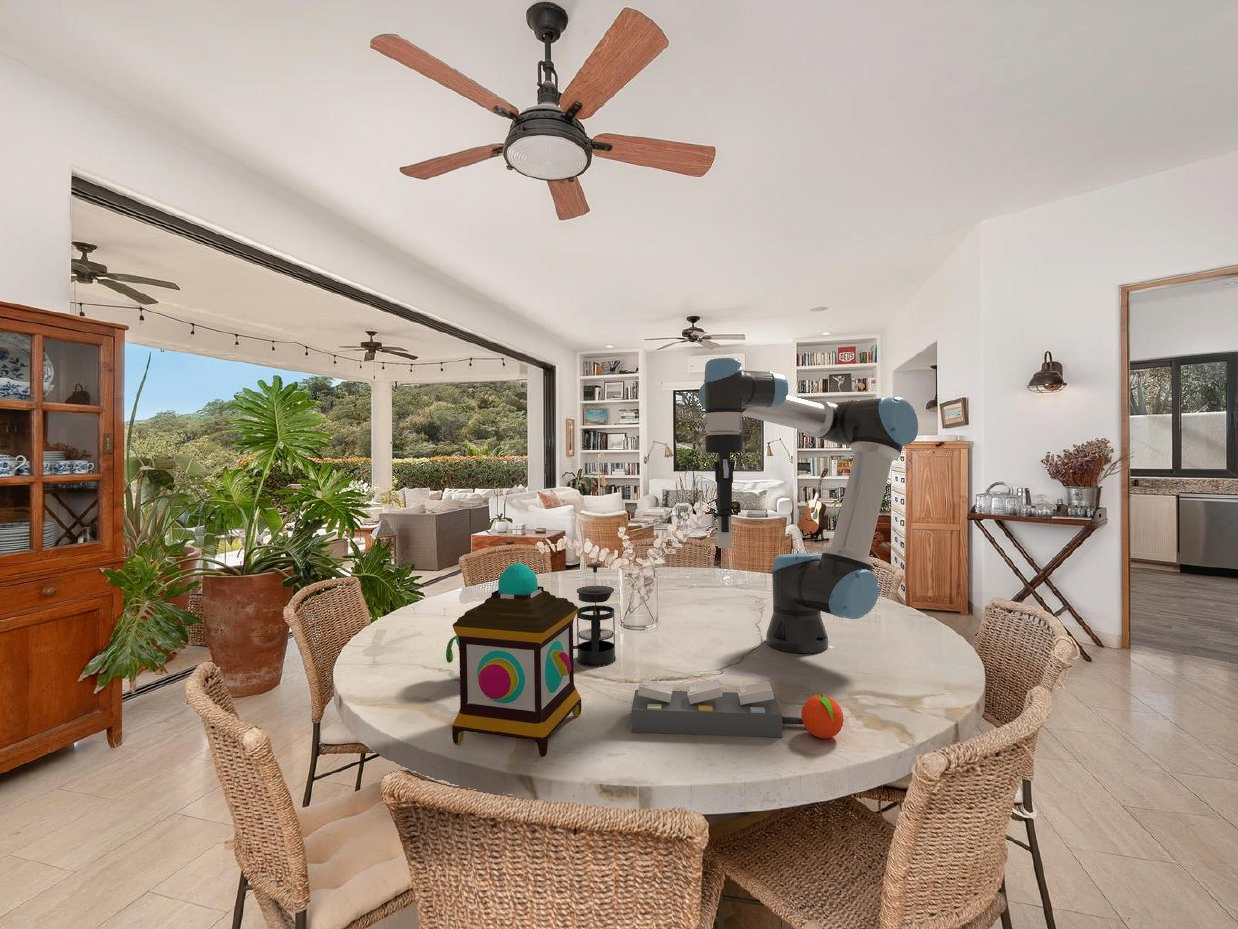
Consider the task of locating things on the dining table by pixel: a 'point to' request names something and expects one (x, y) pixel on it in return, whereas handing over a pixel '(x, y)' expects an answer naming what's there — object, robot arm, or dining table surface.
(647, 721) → the power strip
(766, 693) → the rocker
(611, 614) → the french press
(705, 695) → the plate
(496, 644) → the decorative lantern
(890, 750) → the dining table surface
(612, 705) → the dining table surface
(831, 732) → the clementine
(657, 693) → the rocker
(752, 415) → the robot arm
